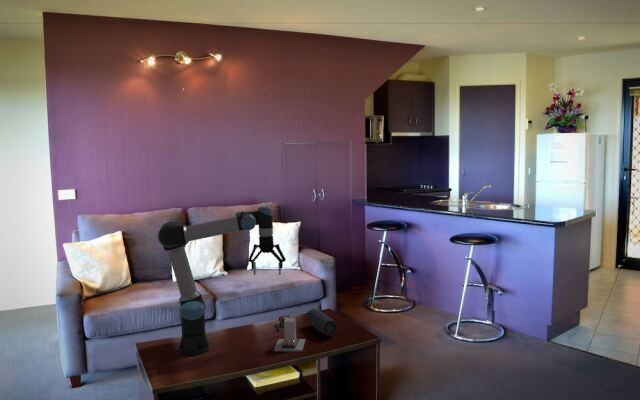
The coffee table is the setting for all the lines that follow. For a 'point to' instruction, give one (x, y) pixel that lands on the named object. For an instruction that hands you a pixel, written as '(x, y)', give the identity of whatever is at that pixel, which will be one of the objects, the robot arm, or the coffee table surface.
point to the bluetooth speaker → (321, 322)
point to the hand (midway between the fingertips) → (267, 274)
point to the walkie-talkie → (281, 321)
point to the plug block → (290, 330)
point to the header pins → (288, 344)
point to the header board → (298, 344)
